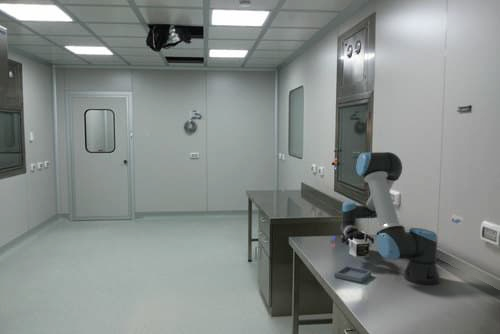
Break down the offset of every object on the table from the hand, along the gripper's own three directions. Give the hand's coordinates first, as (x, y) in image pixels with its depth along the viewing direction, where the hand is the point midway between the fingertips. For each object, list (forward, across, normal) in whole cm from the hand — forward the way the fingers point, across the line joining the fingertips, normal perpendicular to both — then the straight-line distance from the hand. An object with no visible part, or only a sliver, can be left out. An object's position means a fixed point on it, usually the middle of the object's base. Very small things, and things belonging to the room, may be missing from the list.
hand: (361, 244), depth 201 cm
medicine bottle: (-5, 0, -7) cm, 8 cm away
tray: (+11, +6, -12) cm, 18 cm away
